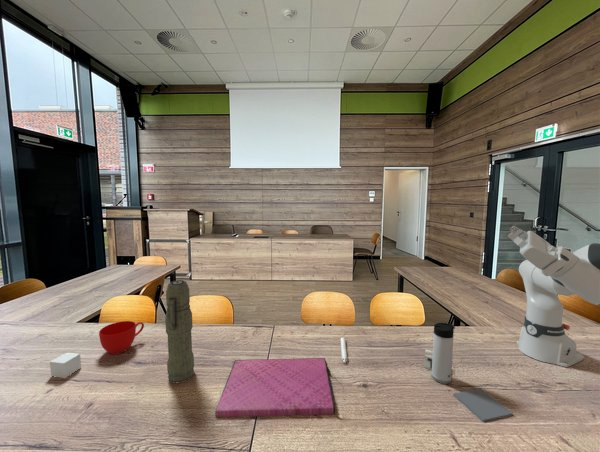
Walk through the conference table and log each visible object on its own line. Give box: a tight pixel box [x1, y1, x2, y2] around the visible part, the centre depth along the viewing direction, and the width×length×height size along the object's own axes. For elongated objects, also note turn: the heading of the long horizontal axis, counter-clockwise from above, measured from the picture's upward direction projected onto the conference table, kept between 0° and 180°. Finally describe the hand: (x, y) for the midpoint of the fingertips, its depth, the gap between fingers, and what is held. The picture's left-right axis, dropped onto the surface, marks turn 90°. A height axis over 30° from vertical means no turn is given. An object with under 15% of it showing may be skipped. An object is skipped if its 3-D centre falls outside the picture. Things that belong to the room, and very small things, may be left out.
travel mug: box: [431, 322, 456, 385], centre depth 95 cm, size 6×7×20 cm
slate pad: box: [452, 388, 514, 423], centre depth 83 cm, size 11×11×1 cm
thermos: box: [164, 279, 195, 384], centre depth 96 cm, size 9×12×35 cm
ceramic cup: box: [98, 320, 145, 355], centre depth 115 cm, size 13×17×10 cm
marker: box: [340, 336, 348, 364], centre depth 113 cm, size 18×2×2 cm, turn 173°
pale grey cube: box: [49, 352, 82, 379], centre depth 99 cm, size 6×6×6 cm
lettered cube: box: [423, 349, 433, 371], centre depth 103 cm, size 5×5×5 cm
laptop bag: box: [214, 357, 346, 418], centre depth 92 cm, size 40×4×27 cm
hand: (510, 230), depth 86 cm, fingers open, 8 cm apart
